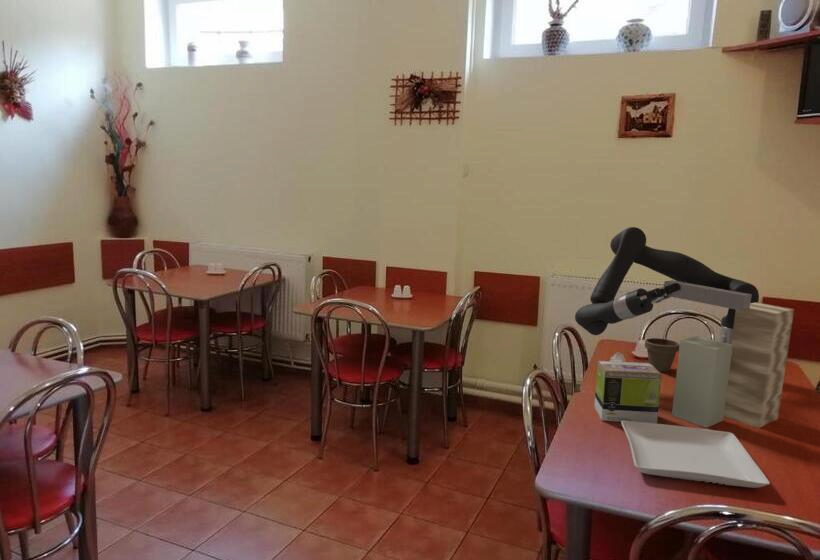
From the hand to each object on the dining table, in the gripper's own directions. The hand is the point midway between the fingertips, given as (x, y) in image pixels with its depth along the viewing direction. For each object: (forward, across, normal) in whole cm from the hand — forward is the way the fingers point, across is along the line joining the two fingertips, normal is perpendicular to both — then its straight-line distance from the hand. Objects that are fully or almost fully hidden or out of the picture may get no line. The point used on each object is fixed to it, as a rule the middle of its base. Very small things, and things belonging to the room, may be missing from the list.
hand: (682, 285), depth 166 cm
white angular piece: (-31, -3, +25) cm, 40 cm away
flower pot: (-38, +33, +21) cm, 54 cm away
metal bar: (+4, 0, +6) cm, 7 cm away
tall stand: (-4, +14, +40) cm, 43 cm away
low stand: (-11, 0, +36) cm, 38 cm away
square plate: (0, -28, +43) cm, 51 cm away
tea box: (-21, -17, +30) cm, 41 cm away
